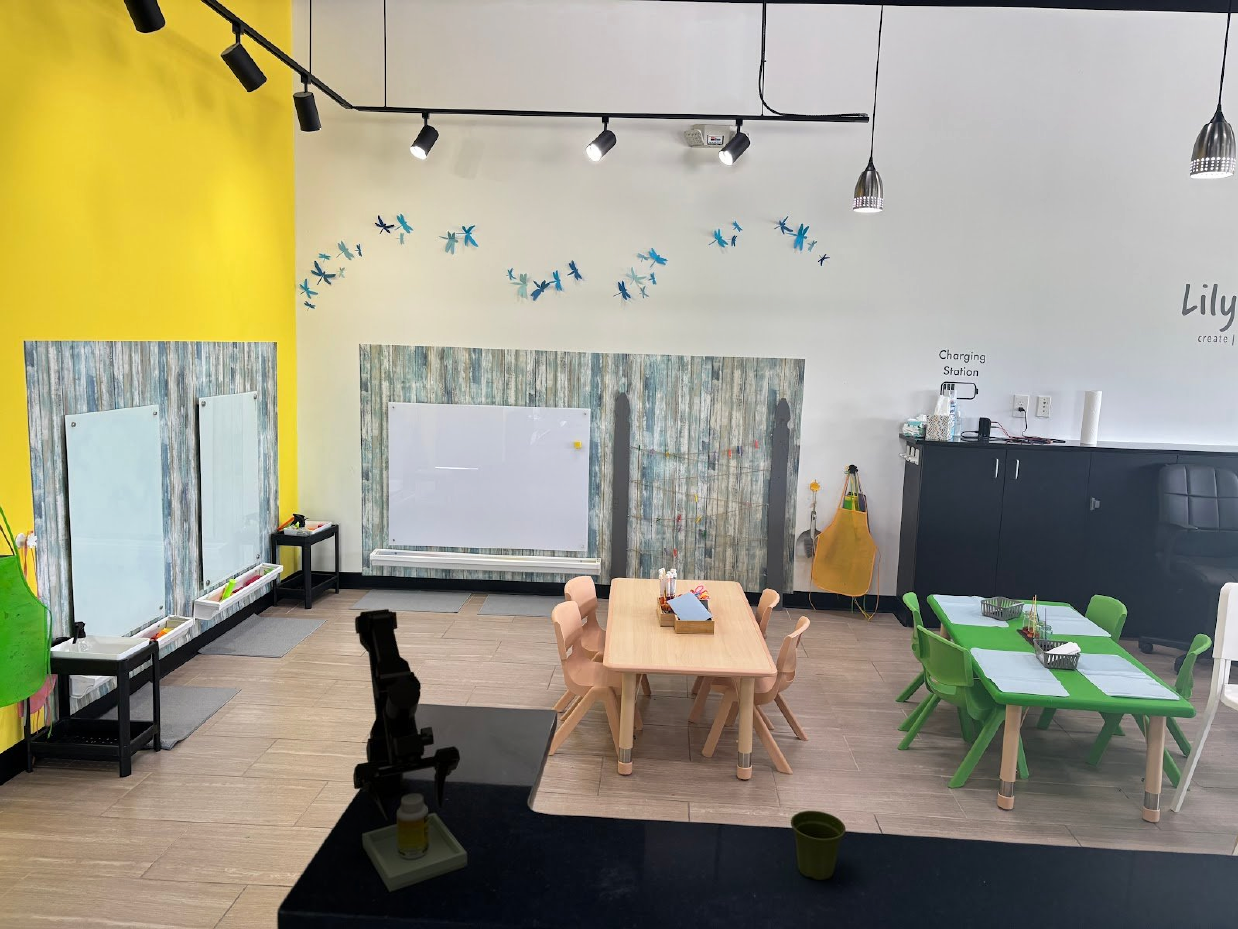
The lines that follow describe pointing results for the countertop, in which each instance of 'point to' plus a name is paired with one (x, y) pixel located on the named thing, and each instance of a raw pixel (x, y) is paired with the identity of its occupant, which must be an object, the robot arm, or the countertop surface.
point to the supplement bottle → (412, 827)
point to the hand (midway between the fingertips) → (414, 814)
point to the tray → (405, 872)
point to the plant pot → (817, 842)
